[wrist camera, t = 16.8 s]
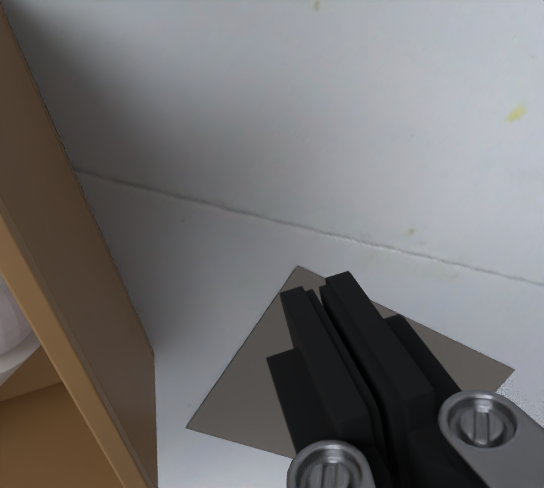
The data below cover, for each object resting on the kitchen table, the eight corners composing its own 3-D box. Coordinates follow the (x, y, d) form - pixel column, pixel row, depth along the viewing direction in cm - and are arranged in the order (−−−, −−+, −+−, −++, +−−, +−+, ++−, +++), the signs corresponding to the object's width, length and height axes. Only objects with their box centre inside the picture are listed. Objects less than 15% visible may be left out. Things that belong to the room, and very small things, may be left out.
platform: (405, 490, 37) (453, 583, 31) (185, 428, 30) (195, 533, 24) (515, 369, 34) (590, 448, 28) (297, 265, 26) (340, 343, 21)
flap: (-204, -77, 5) (-157, -84, 5) (-139, -21, 10) (-116, -25, 10) (236, 683, 14) (248, 671, 14) (154, 512, 19) (164, 505, 19)
